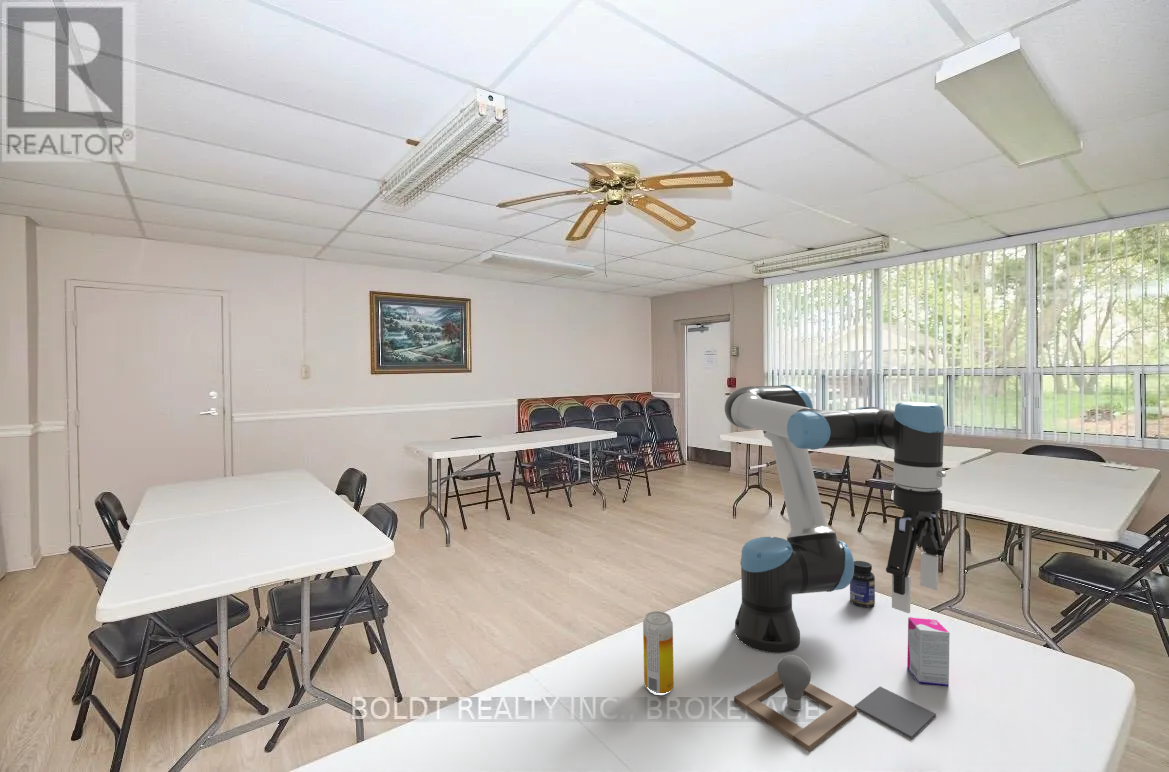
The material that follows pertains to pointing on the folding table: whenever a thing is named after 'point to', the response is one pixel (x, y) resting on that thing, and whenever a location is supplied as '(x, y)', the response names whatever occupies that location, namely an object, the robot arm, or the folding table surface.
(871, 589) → the pill bottle
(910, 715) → the mat
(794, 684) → the light bulb
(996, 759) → the folding table surface
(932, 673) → the supplement box
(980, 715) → the folding table surface
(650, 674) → the beer can
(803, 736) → the wooden picture frame
